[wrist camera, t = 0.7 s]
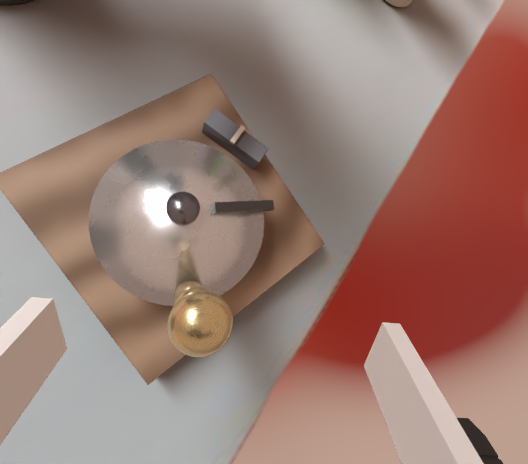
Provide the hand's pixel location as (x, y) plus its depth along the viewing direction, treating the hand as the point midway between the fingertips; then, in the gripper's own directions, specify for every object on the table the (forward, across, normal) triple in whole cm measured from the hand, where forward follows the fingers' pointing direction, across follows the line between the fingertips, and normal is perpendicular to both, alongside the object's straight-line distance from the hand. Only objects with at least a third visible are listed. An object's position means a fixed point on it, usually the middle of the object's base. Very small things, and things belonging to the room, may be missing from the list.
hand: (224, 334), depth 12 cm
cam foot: (+19, -5, -5) cm, 20 cm away
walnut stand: (+22, -6, -6) cm, 23 cm away
